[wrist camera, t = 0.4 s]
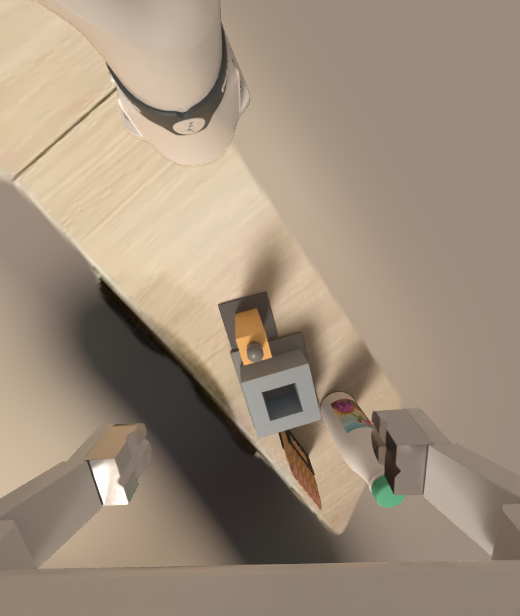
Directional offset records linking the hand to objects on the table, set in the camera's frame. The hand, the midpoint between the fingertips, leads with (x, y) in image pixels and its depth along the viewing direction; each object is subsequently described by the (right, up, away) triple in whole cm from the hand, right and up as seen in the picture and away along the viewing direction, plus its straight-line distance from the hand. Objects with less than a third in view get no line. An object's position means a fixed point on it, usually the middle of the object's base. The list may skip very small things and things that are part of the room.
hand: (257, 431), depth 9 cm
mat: (-2, +2, +39) cm, 39 cm away
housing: (+3, -10, +43) cm, 44 cm away
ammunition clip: (+7, -25, +47) cm, 54 cm away
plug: (-2, +2, +38) cm, 38 cm away
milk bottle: (+16, -17, +46) cm, 52 cm away
